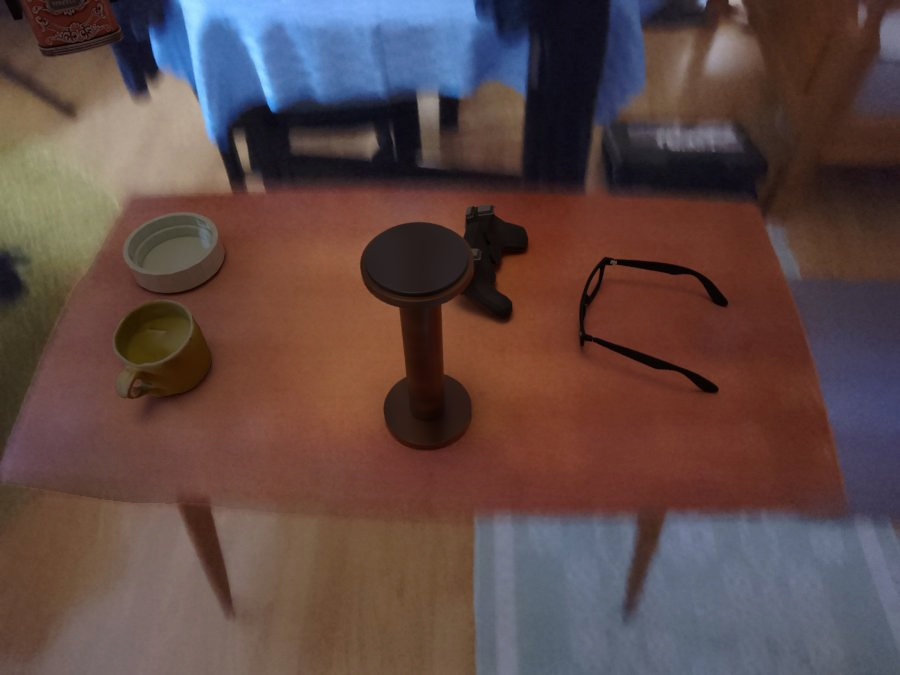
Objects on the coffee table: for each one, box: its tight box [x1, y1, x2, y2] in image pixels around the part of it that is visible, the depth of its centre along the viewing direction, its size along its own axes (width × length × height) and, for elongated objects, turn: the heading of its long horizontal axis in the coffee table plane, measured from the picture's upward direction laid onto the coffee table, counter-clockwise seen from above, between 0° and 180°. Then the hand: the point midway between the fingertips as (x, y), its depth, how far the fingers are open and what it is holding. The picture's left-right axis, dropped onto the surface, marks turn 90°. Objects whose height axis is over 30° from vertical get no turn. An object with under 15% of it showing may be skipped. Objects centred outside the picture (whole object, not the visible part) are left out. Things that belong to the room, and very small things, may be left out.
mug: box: [111, 298, 212, 400], centre depth 79 cm, size 12×10×10 cm
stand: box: [359, 221, 474, 451], centre depth 69 cm, size 10×10×24 cm
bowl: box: [122, 211, 226, 294], centre depth 93 cm, size 12×12×4 cm
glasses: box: [578, 256, 729, 394], centre depth 84 cm, size 17×18×5 cm
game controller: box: [459, 204, 529, 320], centre depth 90 cm, size 16×7×10 cm, turn 167°
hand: (66, 5), depth 67 cm, fingers closed on lighter, 8 cm apart
